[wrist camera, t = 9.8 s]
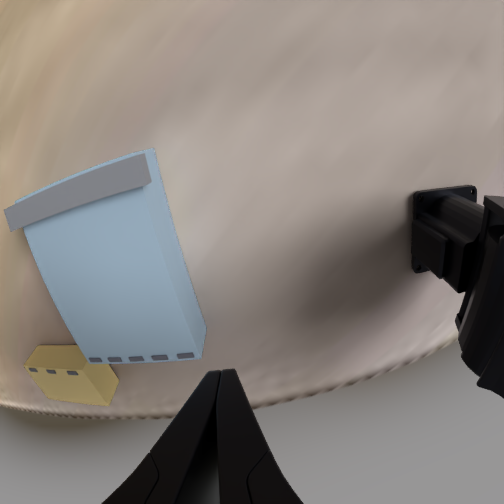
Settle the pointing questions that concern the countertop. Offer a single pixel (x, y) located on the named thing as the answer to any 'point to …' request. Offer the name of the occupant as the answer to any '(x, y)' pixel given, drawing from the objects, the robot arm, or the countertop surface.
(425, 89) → the countertop surface
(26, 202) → the ticket
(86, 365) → the stub
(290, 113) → the countertop surface
